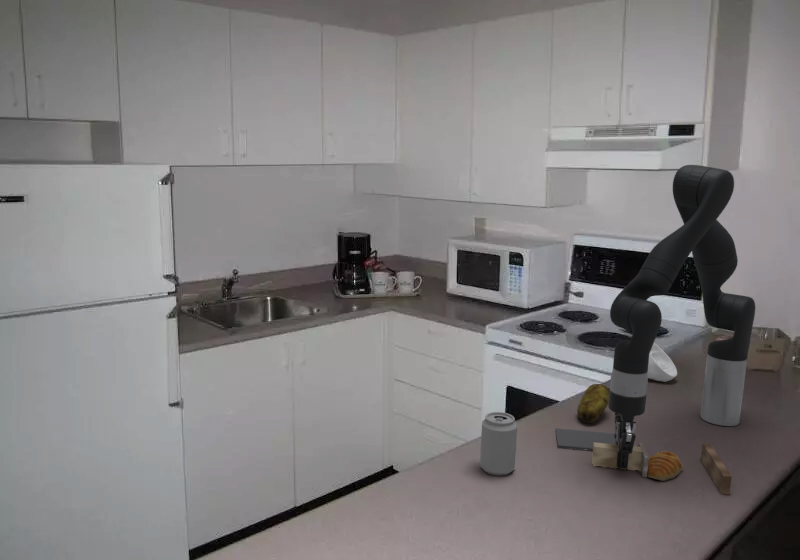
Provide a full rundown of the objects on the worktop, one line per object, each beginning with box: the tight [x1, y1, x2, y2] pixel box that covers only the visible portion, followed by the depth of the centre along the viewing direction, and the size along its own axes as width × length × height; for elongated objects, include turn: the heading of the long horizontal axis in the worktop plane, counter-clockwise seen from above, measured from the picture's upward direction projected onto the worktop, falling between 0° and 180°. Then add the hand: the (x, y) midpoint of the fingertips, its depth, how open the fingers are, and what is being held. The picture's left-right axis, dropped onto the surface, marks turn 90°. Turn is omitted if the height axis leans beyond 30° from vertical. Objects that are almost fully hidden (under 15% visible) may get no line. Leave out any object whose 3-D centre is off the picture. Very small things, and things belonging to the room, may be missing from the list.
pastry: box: [647, 450, 684, 482], centre depth 144 cm, size 9×7×4 cm
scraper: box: [591, 441, 650, 478], centre depth 147 cm, size 11×8×4 cm
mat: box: [555, 427, 616, 451], centre depth 159 cm, size 10×15×1 cm, turn 80°
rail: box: [700, 442, 733, 496], centre depth 143 cm, size 16×2×4 cm, turn 170°
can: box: [479, 411, 518, 476], centre depth 143 cm, size 8×8×12 cm
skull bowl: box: [647, 342, 678, 383], centre depth 207 cm, size 10×14×12 cm
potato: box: [577, 383, 610, 424], centre depth 174 cm, size 8×13×8 cm, turn 130°
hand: (620, 464), depth 147 cm, fingers closed on scraper, 2 cm apart
